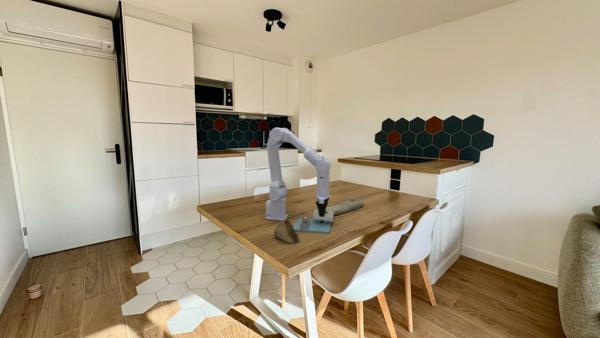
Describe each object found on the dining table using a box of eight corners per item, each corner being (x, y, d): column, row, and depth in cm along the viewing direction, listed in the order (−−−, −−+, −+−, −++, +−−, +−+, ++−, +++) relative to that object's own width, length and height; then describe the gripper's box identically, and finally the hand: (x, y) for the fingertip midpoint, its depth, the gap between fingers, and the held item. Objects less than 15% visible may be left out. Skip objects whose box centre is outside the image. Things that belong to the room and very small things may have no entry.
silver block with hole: (332, 221, 114) (333, 215, 114) (312, 219, 116) (313, 212, 115) (333, 217, 120) (333, 211, 119) (314, 215, 121) (314, 209, 121)
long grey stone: (312, 217, 131) (326, 223, 124) (312, 207, 130) (326, 213, 123) (353, 202, 154) (367, 206, 146) (354, 193, 152) (368, 198, 145)
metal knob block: (300, 231, 109) (300, 219, 108) (302, 224, 117) (303, 214, 116) (307, 231, 108) (307, 220, 108) (309, 224, 116) (310, 214, 115)
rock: (266, 231, 103) (273, 237, 93) (278, 213, 104) (285, 217, 95) (287, 243, 106) (295, 251, 97) (298, 226, 108) (307, 231, 98)
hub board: (292, 231, 109) (292, 229, 109) (297, 219, 122) (297, 218, 122) (329, 233, 106) (329, 231, 106) (330, 222, 120) (331, 220, 120)
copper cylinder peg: (319, 222, 117) (319, 215, 117) (320, 220, 119) (320, 213, 119) (324, 222, 117) (324, 215, 116) (324, 221, 119) (324, 214, 118)
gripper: (331, 189, 108) (330, 220, 110) (332, 183, 122) (331, 210, 124) (314, 189, 109) (314, 219, 111) (317, 182, 123) (317, 209, 125)
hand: (322, 214), depth 117 cm, fingers closed on silver block with hole, 6 cm apart
